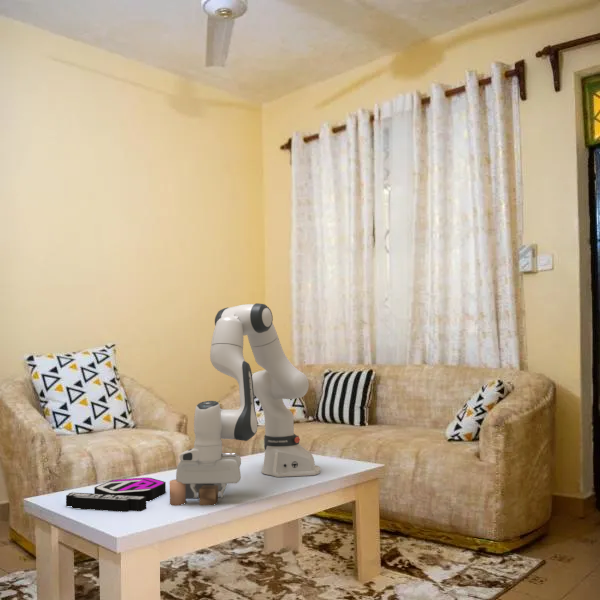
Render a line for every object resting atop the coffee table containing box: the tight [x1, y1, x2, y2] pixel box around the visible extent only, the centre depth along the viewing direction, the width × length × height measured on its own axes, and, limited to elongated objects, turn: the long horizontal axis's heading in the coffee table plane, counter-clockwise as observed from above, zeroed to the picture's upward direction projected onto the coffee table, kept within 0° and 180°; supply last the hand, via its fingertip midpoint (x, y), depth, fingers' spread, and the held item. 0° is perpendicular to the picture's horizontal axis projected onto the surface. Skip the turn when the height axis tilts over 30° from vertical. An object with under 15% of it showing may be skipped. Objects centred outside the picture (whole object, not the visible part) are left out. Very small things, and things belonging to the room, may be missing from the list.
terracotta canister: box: [169, 478, 187, 506], centre depth 203 cm, size 5×5×7 cm
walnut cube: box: [198, 485, 219, 506], centre depth 202 cm, size 5×5×5 cm
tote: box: [186, 484, 223, 499], centre depth 217 cm, size 13×17×6 cm
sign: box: [65, 477, 167, 513], centre depth 211 cm, size 27×4×30 cm
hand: (208, 497), depth 202 cm, fingers open, 6 cm apart
